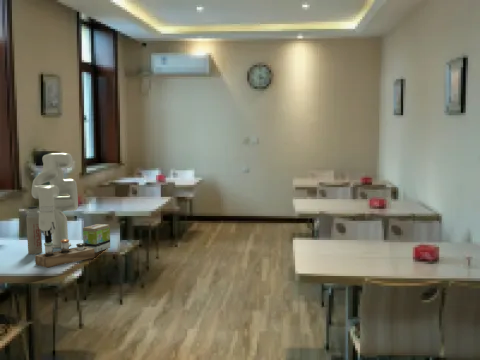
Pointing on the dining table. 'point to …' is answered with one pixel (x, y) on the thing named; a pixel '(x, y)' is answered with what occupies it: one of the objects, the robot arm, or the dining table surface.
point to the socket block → (64, 257)
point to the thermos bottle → (33, 231)
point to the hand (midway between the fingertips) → (48, 242)
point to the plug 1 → (48, 249)
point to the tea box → (97, 237)
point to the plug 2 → (80, 246)
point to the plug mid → (65, 245)
